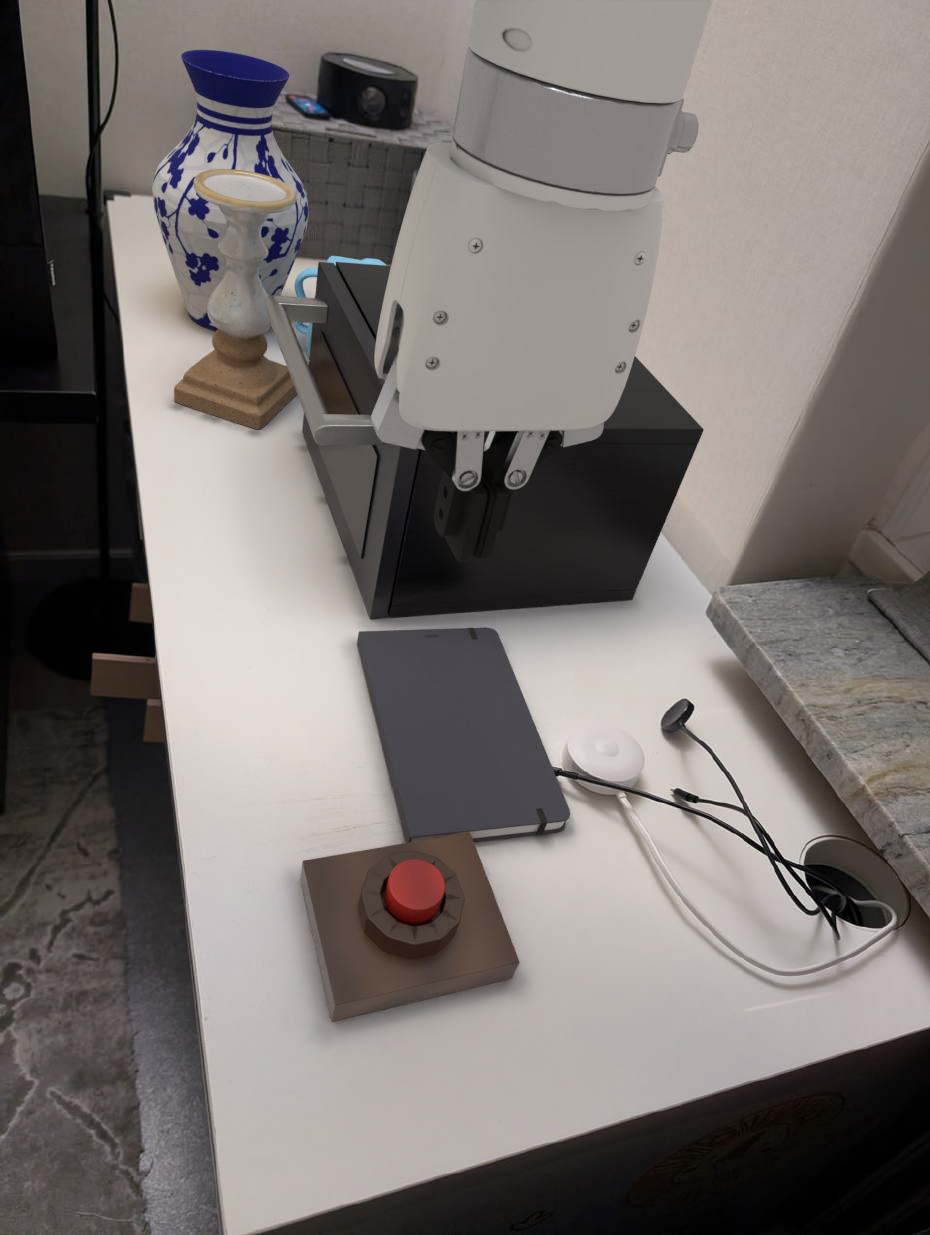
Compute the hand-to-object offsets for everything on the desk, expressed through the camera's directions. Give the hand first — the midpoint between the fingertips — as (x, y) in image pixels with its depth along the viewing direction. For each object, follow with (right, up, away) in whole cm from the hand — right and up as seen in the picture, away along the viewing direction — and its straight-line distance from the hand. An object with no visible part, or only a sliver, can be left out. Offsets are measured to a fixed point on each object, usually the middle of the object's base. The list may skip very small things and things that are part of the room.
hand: (463, 542), depth 44 cm
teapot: (-12, +30, +76) cm, 83 cm away
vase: (-32, +37, +79) cm, 93 cm away
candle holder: (-27, +22, +63) cm, 72 cm away
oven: (0, +8, +54) cm, 55 cm away
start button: (-3, -22, +14) cm, 26 cm away
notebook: (-1, -13, +30) cm, 33 cm away
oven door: (-16, +7, +48) cm, 51 cm away
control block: (-4, -24, +16) cm, 29 cm away
